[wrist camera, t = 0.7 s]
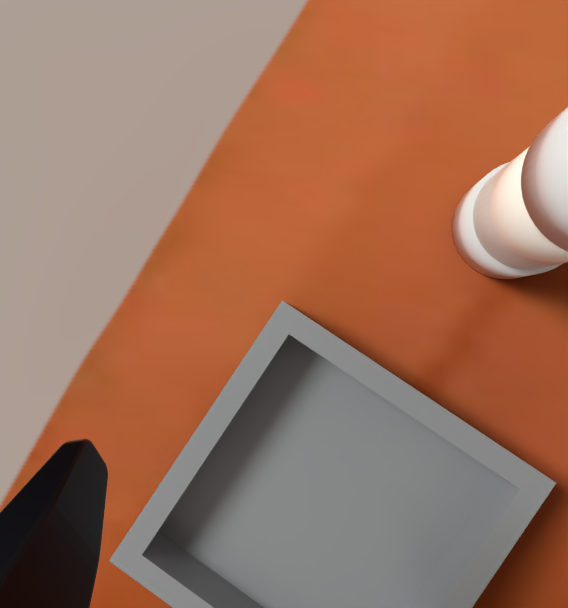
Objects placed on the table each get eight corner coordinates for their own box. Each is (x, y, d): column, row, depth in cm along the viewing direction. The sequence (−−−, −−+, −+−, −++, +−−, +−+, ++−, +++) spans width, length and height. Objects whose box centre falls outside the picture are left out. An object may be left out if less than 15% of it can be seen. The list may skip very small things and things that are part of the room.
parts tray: (523, 460, 22) (556, 482, 19) (364, 695, 22) (372, 754, 19) (286, 302, 23) (282, 300, 20) (135, 529, 23) (108, 560, 20)
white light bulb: (578, 212, 22) (794, 125, 12) (520, 299, 22) (687, 283, 12) (488, 156, 22) (627, 27, 12) (431, 242, 23) (523, 182, 13)
